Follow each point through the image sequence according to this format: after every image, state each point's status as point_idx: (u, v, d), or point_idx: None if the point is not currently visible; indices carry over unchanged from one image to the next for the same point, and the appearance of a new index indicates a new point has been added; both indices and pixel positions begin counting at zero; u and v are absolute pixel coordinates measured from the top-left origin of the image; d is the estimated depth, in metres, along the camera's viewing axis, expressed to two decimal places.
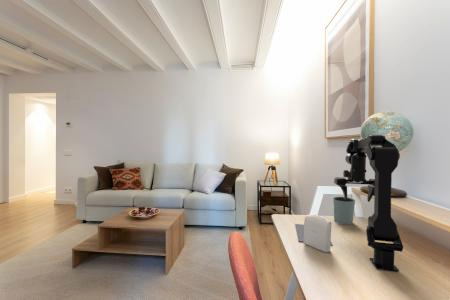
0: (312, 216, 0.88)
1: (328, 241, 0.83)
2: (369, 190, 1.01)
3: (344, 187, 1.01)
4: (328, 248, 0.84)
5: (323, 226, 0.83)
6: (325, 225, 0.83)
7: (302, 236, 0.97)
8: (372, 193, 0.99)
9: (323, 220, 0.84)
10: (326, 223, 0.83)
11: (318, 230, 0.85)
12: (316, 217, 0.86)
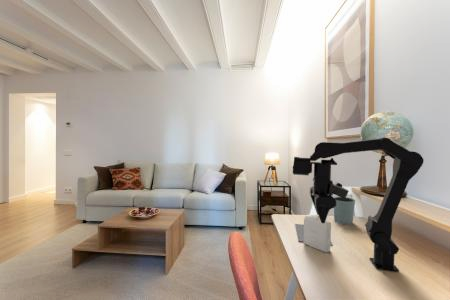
0: (311, 216, 0.88)
1: (328, 241, 0.83)
2: None
3: (311, 197, 0.89)
4: (328, 248, 0.84)
5: (323, 226, 0.83)
6: (325, 225, 0.83)
7: (302, 236, 0.97)
8: (317, 211, 0.78)
9: None
10: (326, 223, 0.83)
11: (318, 230, 0.85)
12: (315, 217, 0.86)
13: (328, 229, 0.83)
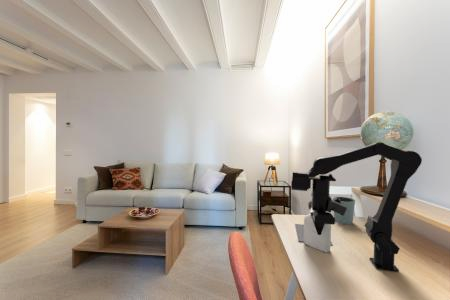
0: None
1: (328, 241, 0.83)
2: None
3: None
4: (328, 248, 0.84)
5: None
6: (325, 225, 0.83)
7: (302, 236, 0.97)
8: None
9: None
10: None
11: None
12: None
13: (328, 229, 0.83)
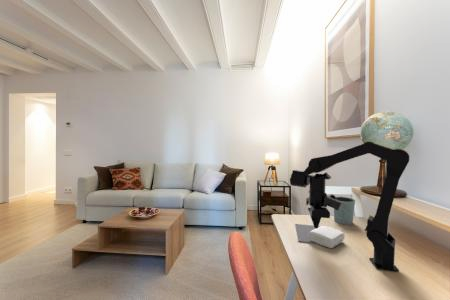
0: None
1: (337, 239, 0.88)
2: None
3: (308, 210, 0.91)
4: (334, 241, 0.86)
5: (340, 231, 0.93)
6: None
7: (302, 236, 0.97)
8: (311, 217, 0.89)
9: None
10: (343, 233, 0.93)
11: (333, 231, 0.93)
12: None
13: (342, 236, 0.91)
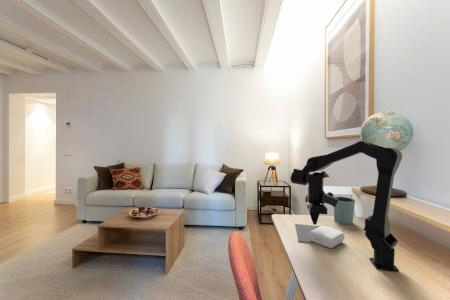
0: None
1: (337, 239, 0.88)
2: None
3: (307, 207, 0.96)
4: (334, 241, 0.86)
5: (339, 231, 0.93)
6: (342, 232, 0.93)
7: (302, 236, 0.97)
8: (310, 214, 0.93)
9: None
10: (342, 232, 0.93)
11: (333, 231, 0.93)
12: None
13: (342, 236, 0.91)
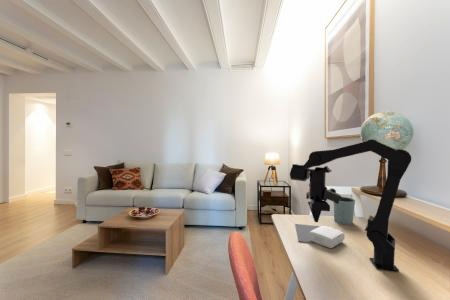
0: None
1: (337, 239, 0.88)
2: None
3: None
4: (334, 241, 0.86)
5: (339, 231, 0.93)
6: (342, 232, 0.93)
7: (302, 236, 0.97)
8: (311, 211, 0.88)
9: None
10: (342, 232, 0.93)
11: (333, 231, 0.93)
12: None
13: (342, 236, 0.91)
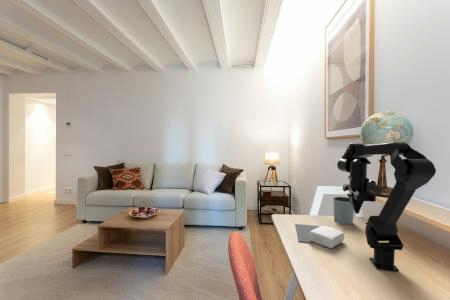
0: None
1: (337, 239, 0.88)
2: None
3: (348, 196, 0.92)
4: (334, 241, 0.86)
5: (339, 231, 0.93)
6: (342, 232, 0.93)
7: (302, 236, 0.97)
8: (352, 203, 0.89)
9: None
10: (342, 232, 0.93)
11: (333, 231, 0.93)
12: None
13: (342, 236, 0.91)
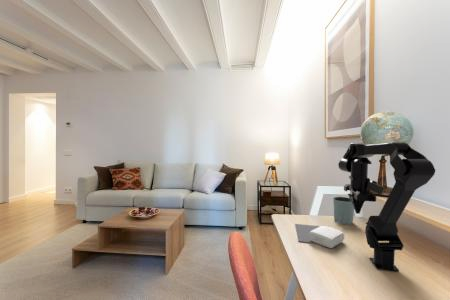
0: None
1: (337, 239, 0.88)
2: None
3: (349, 196, 0.92)
4: (334, 241, 0.86)
5: (339, 231, 0.93)
6: (342, 232, 0.93)
7: (302, 236, 0.97)
8: (353, 203, 0.89)
9: None
10: (342, 232, 0.93)
11: (333, 231, 0.93)
12: None
13: (342, 236, 0.91)
